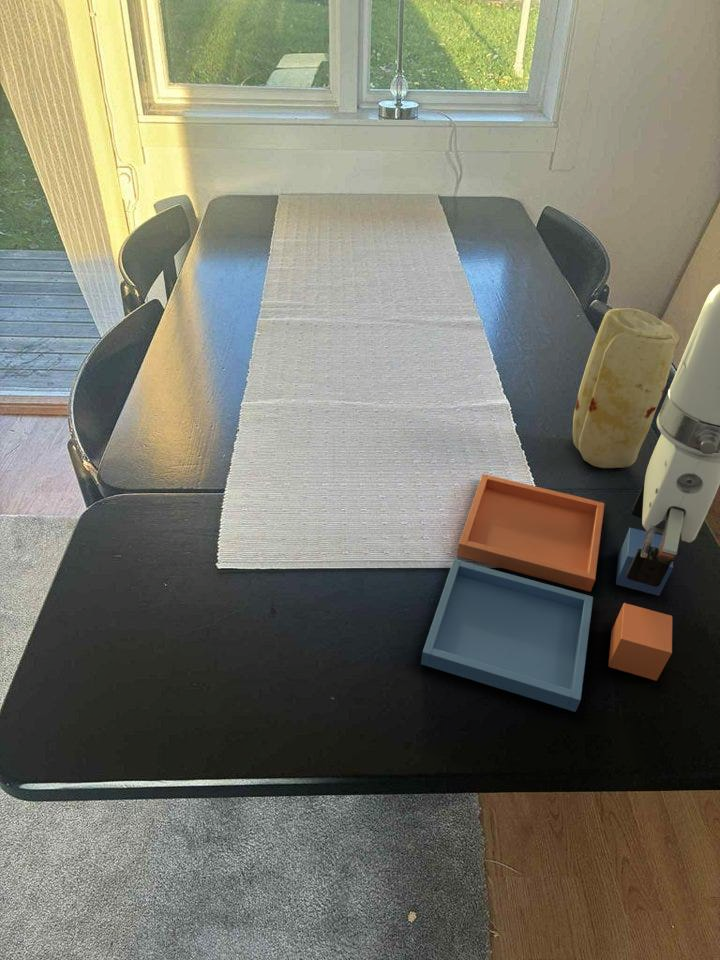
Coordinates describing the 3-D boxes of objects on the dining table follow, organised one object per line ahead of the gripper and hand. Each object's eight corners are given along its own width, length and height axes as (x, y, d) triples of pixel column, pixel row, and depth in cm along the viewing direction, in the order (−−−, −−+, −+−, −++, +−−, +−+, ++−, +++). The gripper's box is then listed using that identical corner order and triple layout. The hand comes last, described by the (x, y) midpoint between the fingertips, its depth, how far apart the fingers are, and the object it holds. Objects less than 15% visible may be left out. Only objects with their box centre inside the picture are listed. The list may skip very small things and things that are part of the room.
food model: (643, 460, 91) (697, 322, 78) (619, 484, 88) (671, 343, 75) (577, 428, 96) (617, 293, 83) (552, 449, 93) (589, 312, 79)
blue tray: (588, 609, 73) (593, 596, 71) (575, 712, 63) (580, 700, 62) (451, 571, 76) (453, 558, 75) (420, 664, 67) (422, 651, 66)
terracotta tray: (600, 515, 83) (604, 502, 82) (590, 592, 74) (595, 579, 73) (480, 485, 87) (482, 473, 85) (456, 555, 78) (458, 543, 76)
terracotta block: (657, 644, 69) (672, 615, 67) (656, 681, 66) (672, 653, 63) (611, 630, 70) (623, 602, 68) (608, 666, 67) (621, 638, 64)
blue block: (660, 566, 77) (673, 538, 74) (659, 596, 74) (673, 567, 71) (618, 555, 78) (629, 527, 75) (615, 584, 75) (627, 556, 72)
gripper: (756, 490, 56) (680, 620, 67) (743, 377, 68) (681, 504, 79) (659, 466, 57) (601, 598, 69) (663, 360, 70) (613, 487, 81)
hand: (644, 547), depth 74 cm, fingers open, 9 cm apart
